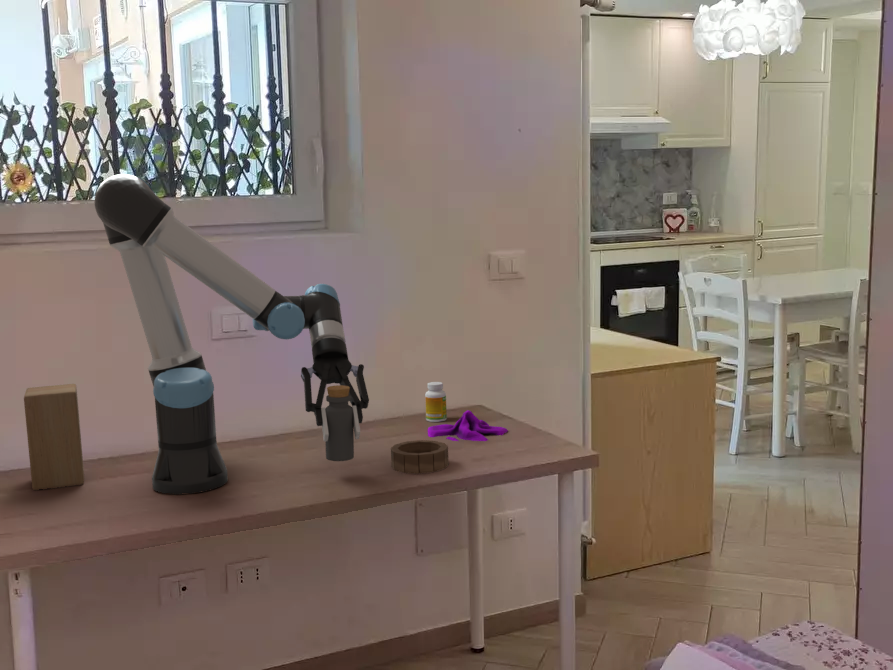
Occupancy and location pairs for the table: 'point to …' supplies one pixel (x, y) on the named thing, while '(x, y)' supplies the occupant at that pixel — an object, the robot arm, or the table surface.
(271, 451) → the table surface
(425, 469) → the bead ring
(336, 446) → the bottle
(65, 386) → the wooden block
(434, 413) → the supplement bottle
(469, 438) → the cloth
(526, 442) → the table surface
